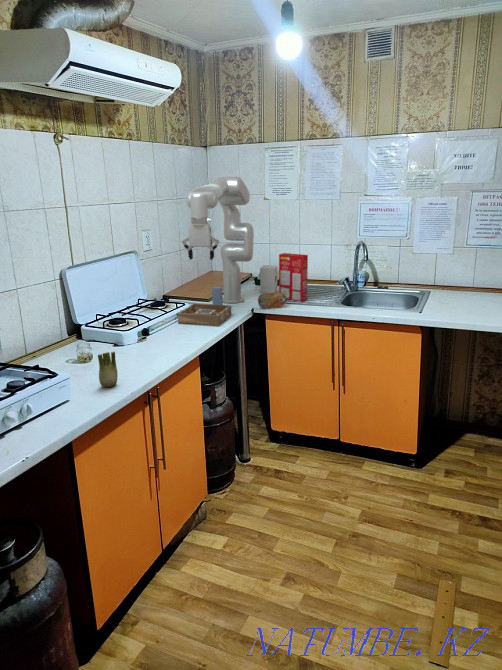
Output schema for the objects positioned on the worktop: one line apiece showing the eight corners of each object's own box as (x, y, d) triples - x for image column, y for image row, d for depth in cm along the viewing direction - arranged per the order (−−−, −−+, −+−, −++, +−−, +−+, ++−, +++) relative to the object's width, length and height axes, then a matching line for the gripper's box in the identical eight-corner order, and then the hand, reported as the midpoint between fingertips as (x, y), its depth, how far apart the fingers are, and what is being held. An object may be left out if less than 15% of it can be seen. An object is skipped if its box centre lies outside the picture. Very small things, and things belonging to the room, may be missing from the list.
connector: (215, 309, 270) (214, 286, 267) (222, 309, 269) (222, 286, 265) (213, 311, 267) (212, 288, 263) (220, 311, 265) (219, 288, 262)
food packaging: (306, 300, 285) (307, 254, 278) (302, 302, 281) (302, 256, 274) (283, 297, 293) (284, 253, 286) (279, 299, 289) (279, 254, 282)
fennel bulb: (118, 382, 177) (115, 349, 173) (117, 388, 172) (114, 354, 169) (101, 384, 176) (97, 350, 172) (99, 389, 171) (95, 355, 168)
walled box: (194, 313, 263) (193, 303, 262) (231, 315, 258) (231, 305, 256) (178, 323, 245) (177, 313, 243) (218, 326, 239) (217, 316, 238)
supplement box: (275, 293, 302) (274, 268, 298) (260, 293, 304) (259, 267, 300) (277, 290, 311) (277, 265, 306) (263, 289, 313) (263, 265, 308)
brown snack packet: (259, 309, 268) (258, 293, 265) (257, 308, 270) (257, 292, 268) (286, 307, 271) (286, 291, 269) (284, 306, 274) (284, 290, 272)
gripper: (220, 220, 235) (221, 258, 240) (183, 220, 238) (185, 257, 243) (216, 222, 228) (218, 260, 233) (178, 222, 231) (180, 260, 236)
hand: (201, 259), depth 238 cm, fingers open, 9 cm apart
